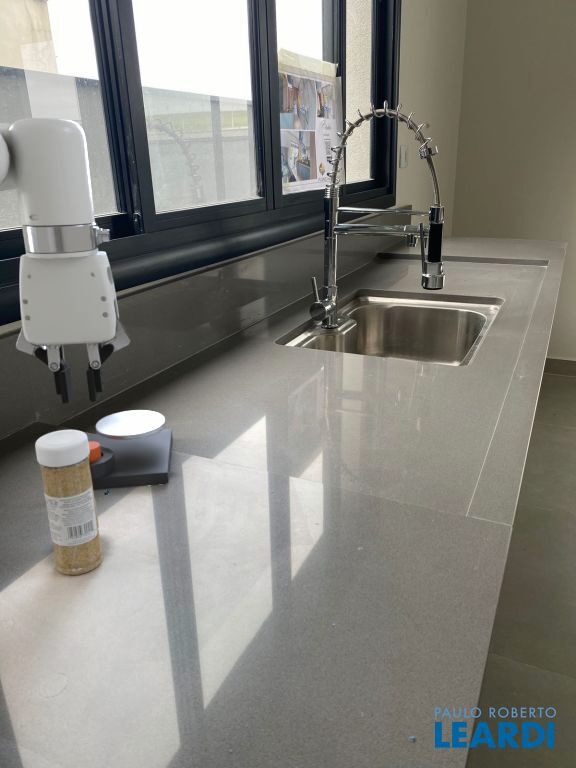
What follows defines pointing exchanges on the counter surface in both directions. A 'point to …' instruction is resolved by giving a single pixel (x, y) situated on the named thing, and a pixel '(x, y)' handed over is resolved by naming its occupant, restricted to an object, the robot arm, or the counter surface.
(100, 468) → the scale
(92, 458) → the tare button
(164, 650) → the counter surface
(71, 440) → the spice jar
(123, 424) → the weighing pan
